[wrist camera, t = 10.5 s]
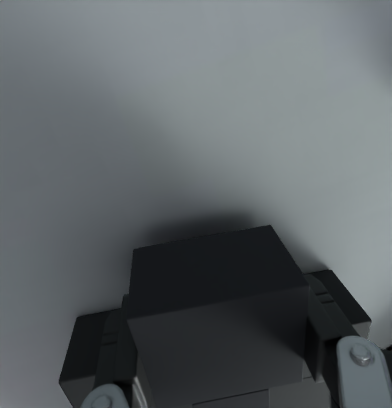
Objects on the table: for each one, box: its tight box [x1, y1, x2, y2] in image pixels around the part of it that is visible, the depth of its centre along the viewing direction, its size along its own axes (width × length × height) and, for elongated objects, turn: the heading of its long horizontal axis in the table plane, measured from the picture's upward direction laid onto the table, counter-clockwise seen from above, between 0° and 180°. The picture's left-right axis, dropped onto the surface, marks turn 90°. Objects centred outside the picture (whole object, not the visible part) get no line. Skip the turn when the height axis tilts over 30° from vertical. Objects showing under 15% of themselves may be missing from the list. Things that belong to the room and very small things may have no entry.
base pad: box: [59, 270, 371, 408], centre depth 17 cm, size 14×12×4 cm
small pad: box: [126, 225, 310, 408], centre depth 12 cm, size 6×8×4 cm
